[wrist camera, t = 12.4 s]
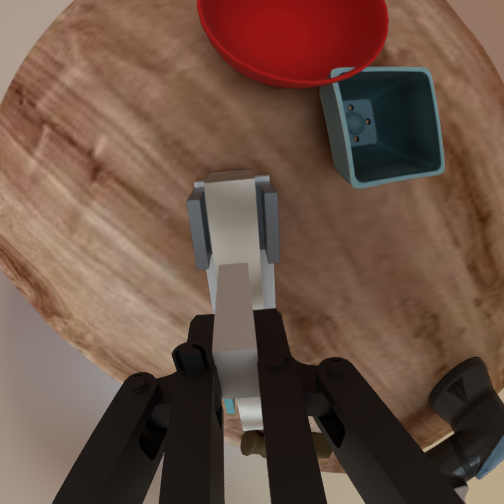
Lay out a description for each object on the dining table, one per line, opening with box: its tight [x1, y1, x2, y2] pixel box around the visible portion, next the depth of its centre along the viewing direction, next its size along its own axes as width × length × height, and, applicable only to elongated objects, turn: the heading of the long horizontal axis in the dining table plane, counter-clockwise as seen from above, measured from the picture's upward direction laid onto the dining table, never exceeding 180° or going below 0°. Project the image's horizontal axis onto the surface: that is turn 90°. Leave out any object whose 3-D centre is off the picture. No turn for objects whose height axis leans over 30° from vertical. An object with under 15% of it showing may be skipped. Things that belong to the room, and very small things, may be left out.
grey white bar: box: [204, 169, 264, 431], centre depth 28 cm, size 30×4×5 cm, turn 4°
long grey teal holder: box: [187, 174, 280, 414], centre depth 30 cm, size 28×7×6 cm, turn 4°
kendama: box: [241, 430, 332, 458], centre depth 45 cm, size 6×10×20 cm
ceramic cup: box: [197, 0, 389, 89], centre depth 16 cm, size 13×17×10 cm
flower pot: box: [319, 66, 445, 189], centre depth 22 cm, size 9×9×9 cm
